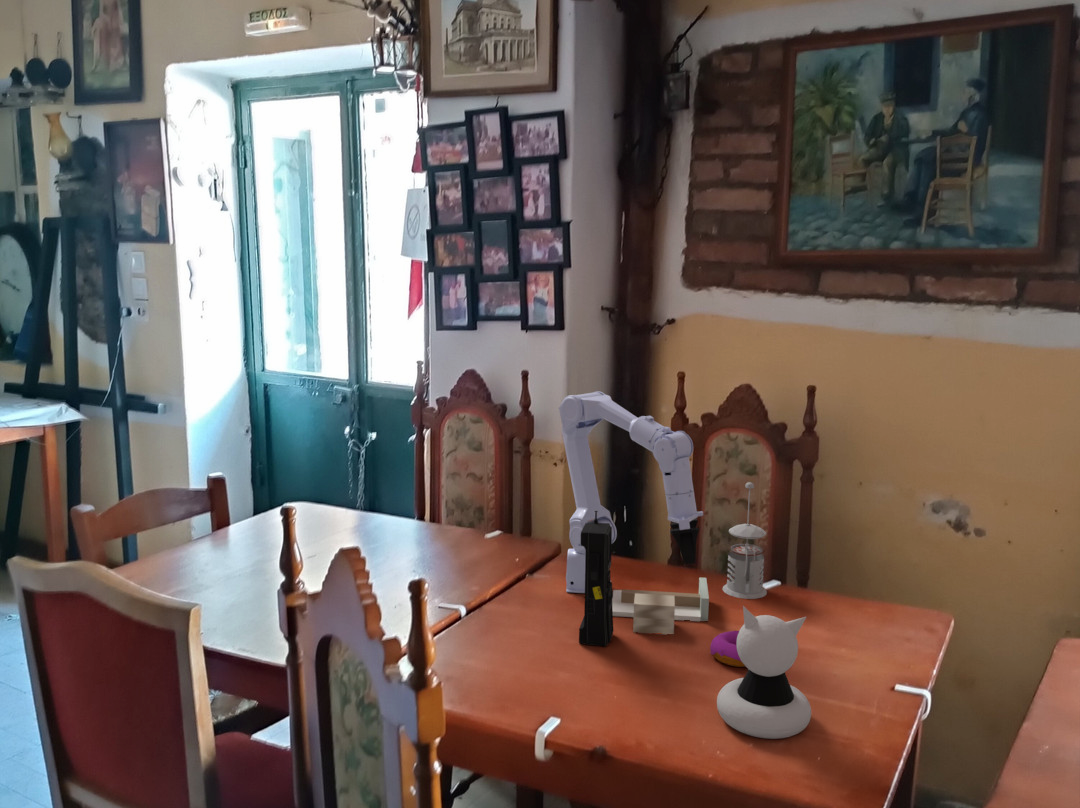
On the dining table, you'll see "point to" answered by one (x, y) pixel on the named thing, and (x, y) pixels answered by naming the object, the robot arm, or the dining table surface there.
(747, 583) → the french press
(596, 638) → the portable radio
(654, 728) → the dining table surface
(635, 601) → the saddle block
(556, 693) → the dining table surface
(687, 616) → the board
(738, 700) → the decorative figurine
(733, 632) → the donut
